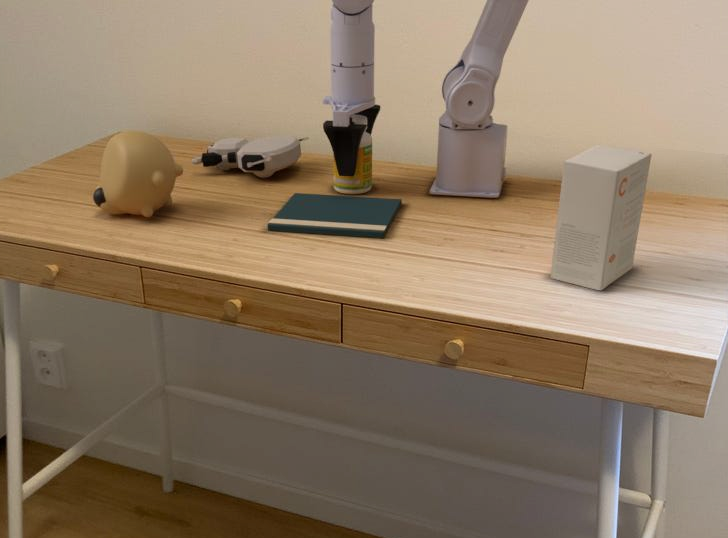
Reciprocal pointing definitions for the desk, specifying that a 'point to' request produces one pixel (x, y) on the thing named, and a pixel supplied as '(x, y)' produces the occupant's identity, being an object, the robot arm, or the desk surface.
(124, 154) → the toy pig
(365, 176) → the supplement bottle
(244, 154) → the robot toy
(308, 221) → the teal notebook
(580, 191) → the small box
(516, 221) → the desk surface
